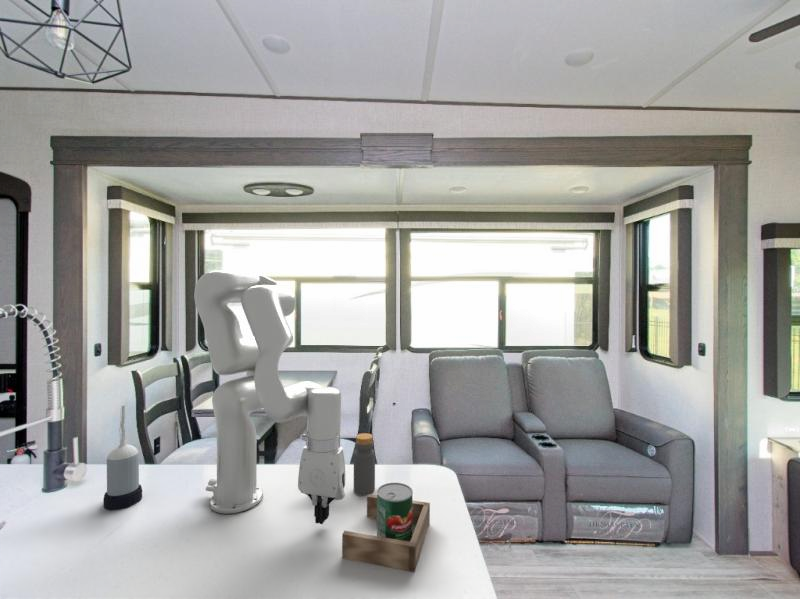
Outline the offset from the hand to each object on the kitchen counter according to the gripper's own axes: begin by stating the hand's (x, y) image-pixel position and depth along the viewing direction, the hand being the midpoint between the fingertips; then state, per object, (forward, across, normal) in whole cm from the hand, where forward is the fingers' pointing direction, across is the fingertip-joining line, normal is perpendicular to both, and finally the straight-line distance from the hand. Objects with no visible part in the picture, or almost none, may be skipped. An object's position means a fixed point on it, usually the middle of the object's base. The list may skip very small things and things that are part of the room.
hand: (321, 520), depth 90 cm
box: (+1, +16, 0) cm, 16 cm away
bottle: (+2, +4, +19) cm, 19 cm away
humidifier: (+3, -54, -3) cm, 54 cm away
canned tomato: (+2, +18, 0) cm, 18 cm away
